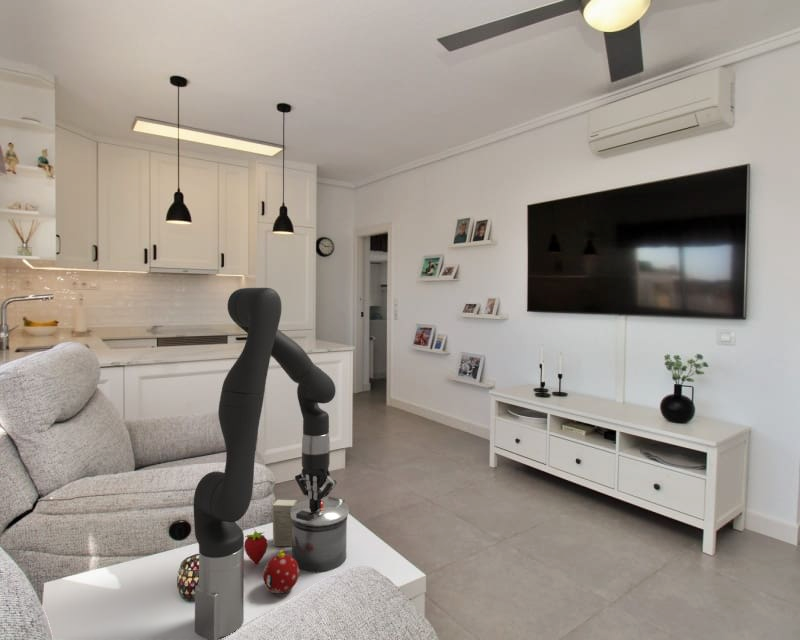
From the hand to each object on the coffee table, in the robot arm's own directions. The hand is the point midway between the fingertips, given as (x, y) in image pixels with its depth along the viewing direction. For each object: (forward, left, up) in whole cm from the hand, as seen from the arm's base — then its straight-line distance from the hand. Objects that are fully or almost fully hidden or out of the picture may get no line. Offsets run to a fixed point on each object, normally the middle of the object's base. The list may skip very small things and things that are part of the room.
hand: (315, 511), depth 131 cm
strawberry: (-9, +13, -14) cm, 21 cm away
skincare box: (+4, +14, -14) cm, 20 cm away
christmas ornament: (-15, -1, -14) cm, 21 cm away
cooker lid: (+3, 0, -1) cm, 3 cm away
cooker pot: (+2, 0, -14) cm, 14 cm away
